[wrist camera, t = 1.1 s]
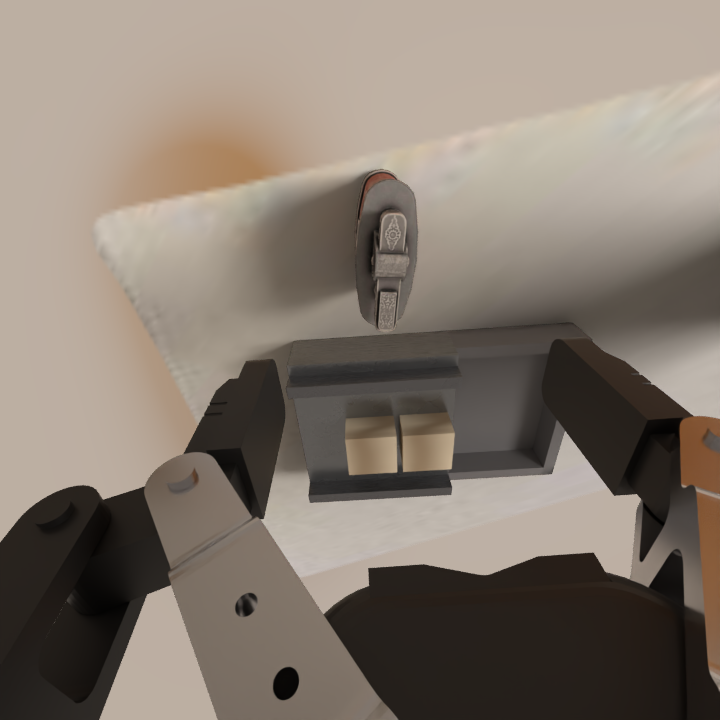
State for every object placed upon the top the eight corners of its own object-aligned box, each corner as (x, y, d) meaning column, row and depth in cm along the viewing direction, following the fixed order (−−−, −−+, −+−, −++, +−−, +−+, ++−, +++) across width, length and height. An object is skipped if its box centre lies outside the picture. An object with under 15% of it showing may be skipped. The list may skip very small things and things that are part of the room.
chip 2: (447, 412, 30) (454, 433, 28) (444, 447, 32) (451, 469, 30) (399, 415, 30) (403, 436, 28) (399, 449, 32) (403, 471, 30)
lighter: (356, 168, 24) (359, 183, 16) (407, 170, 25) (436, 187, 16) (353, 283, 29) (353, 345, 20) (396, 285, 29) (414, 347, 20)
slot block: (447, 331, 31) (463, 365, 26) (438, 457, 39) (450, 501, 34) (294, 340, 31) (283, 377, 26) (316, 464, 39) (311, 509, 34)
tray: (572, 322, 31) (592, 339, 28) (538, 451, 38) (551, 474, 36) (447, 331, 31) (455, 348, 28) (438, 457, 39) (444, 480, 36)
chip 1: (393, 415, 30) (396, 436, 28) (394, 450, 32) (397, 472, 30) (345, 418, 30) (345, 439, 28) (349, 453, 33) (349, 475, 30)
